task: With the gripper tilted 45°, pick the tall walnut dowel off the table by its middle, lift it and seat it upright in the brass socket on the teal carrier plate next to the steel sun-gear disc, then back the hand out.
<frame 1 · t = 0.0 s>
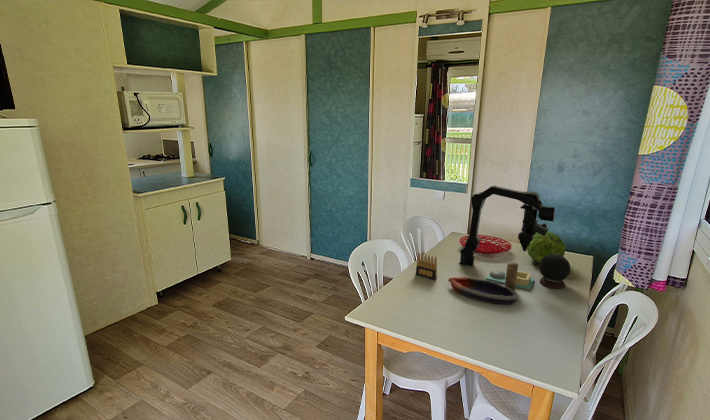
hand: (526, 248, 185), 15 cm above the table, tool pointing down, fingers open, 9 cm apart
ammunition clip: (425, 277, 187), on the table
lettuce: (543, 262, 206), on the table
black ball on stand: (552, 284, 180), on the table
carrier plate: (509, 280, 183), on the table
bowl: (484, 251, 223), on the table
dish: (481, 295, 169), on the table
walnut dowel: (509, 289, 173), on the table
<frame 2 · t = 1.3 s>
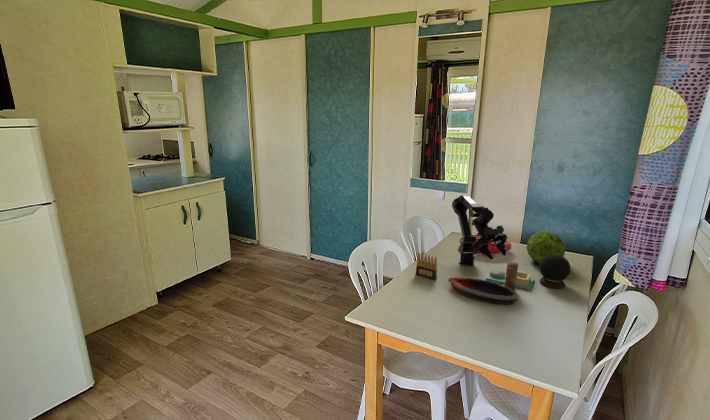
hand: (498, 257, 177), 13 cm above the table, tool tilted 45°, fingers open, 9 cm apart
nothing on the table moved.
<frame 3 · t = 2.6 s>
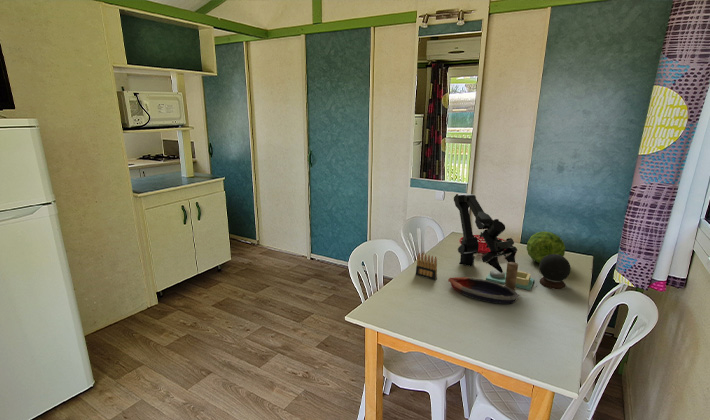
hand: (508, 270, 172), 9 cm above the table, tool tilted 45°, fingers open, 9 cm apart
nothing on the table moved.
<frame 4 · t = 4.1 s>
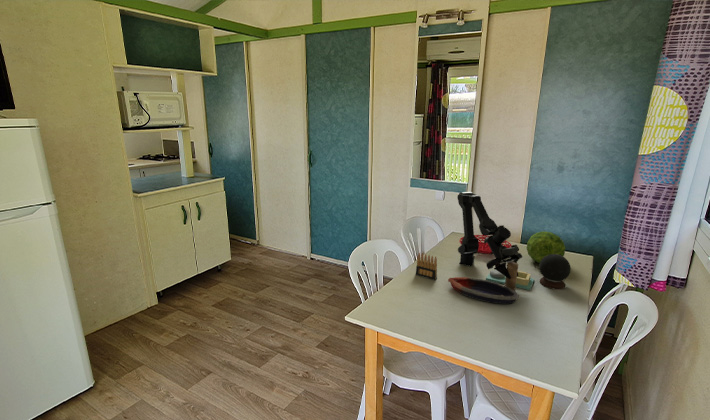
hand: (513, 277, 170), 7 cm above the table, tool tilted 45°, fingers closed on walnut dowel, 5 cm apart
walnut dowel: (509, 289, 173), on the table, touching gripper
everything else where it was.
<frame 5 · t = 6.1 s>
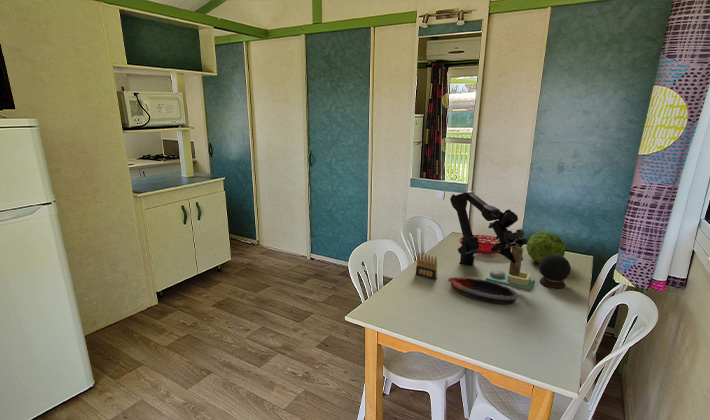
hand: (518, 261, 172), 13 cm above the table, tool tilted 45°, fingers closed on walnut dowel, 5 cm apart
walnut dowel: (514, 274, 175), point 6 cm above the table, touching gripper
everything else where it was.
when the fingers open (9 cm above the table, at t = 8.2 s): walnut dowel stays where it is, resting on carrier plate.
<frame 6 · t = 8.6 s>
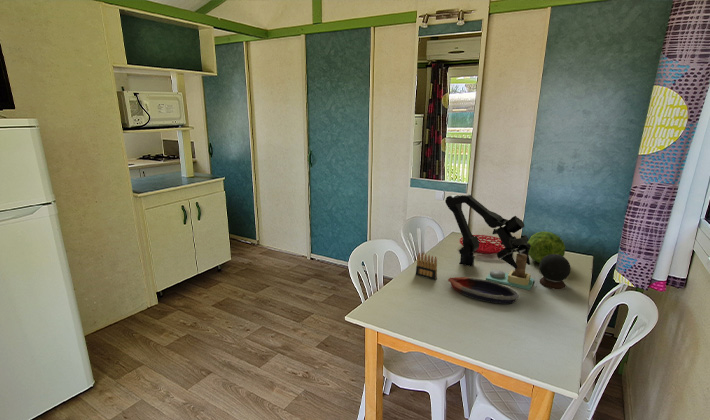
hand: (523, 266, 178), 9 cm above the table, tool tilted 45°, fingers open, 9 cm apart
walnut dowel: (518, 280, 181), point 1 cm above the table, touching carrier plate
everything else where it was.
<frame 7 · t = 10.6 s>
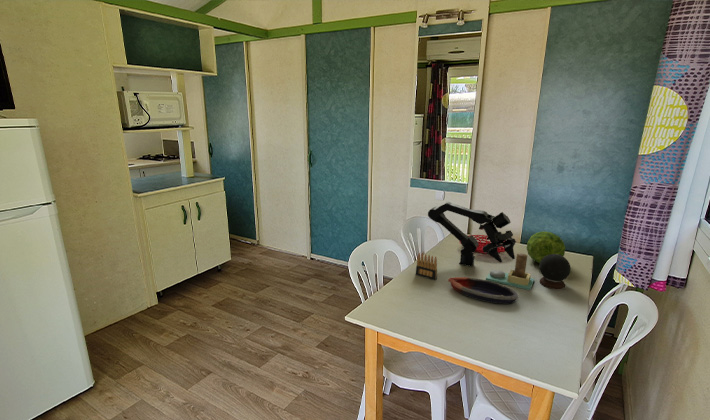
hand: (507, 260, 185), 9 cm above the table, tool tilted 45°, fingers open, 9 cm apart
nothing on the table moved.
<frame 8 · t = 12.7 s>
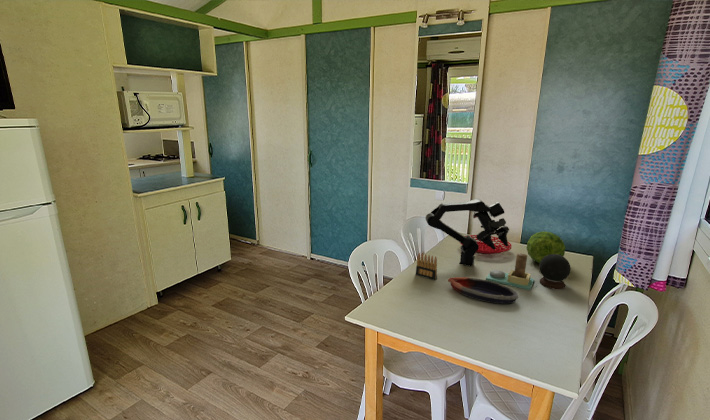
hand: (501, 247, 189), 14 cm above the table, tool tilted 45°, fingers open, 9 cm apart
nothing on the table moved.
at the end: walnut dowel 0.0 cm from the target spot on the carrier plate, point 1.0 cm above the carrier plate's base; walnut dowel tilted 1°; the gripper is holding nothing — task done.
